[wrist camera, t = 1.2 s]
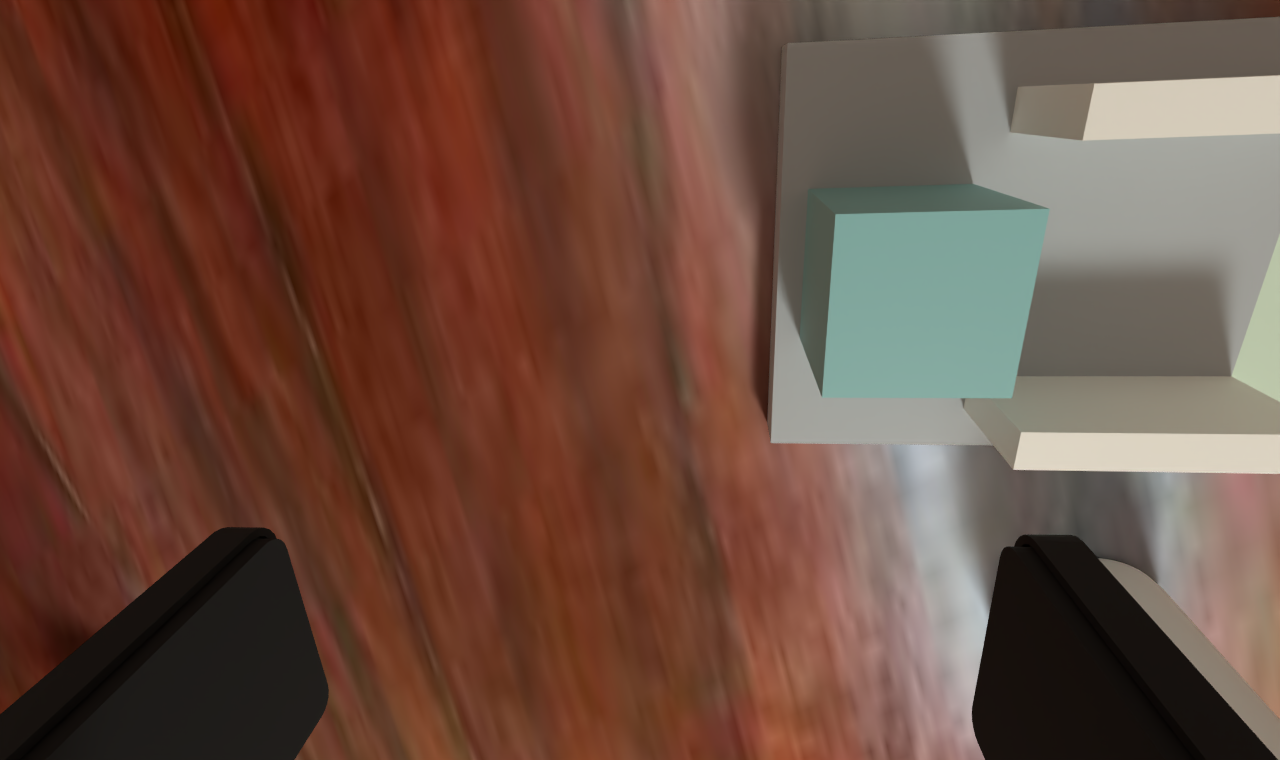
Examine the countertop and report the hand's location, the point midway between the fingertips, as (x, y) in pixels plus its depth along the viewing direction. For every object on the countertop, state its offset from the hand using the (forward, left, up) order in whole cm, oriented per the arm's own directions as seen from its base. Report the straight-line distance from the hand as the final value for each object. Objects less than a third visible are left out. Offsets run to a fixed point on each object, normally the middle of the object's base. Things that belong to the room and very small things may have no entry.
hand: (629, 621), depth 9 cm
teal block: (0, +8, -20) cm, 21 cm away
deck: (0, +21, -22) cm, 30 cm away
